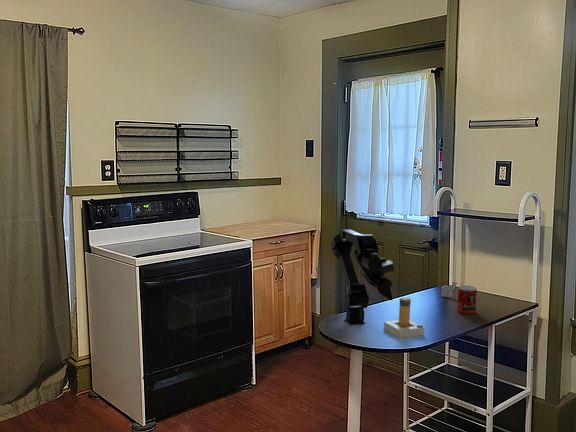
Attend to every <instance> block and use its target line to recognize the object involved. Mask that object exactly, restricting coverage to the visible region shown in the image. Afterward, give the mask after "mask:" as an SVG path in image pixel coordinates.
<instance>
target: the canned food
mask: <svg viewBox="0 0 576 432" xmlns="http://www.w3.org/2000/svg"><path fill="white" fill-rule="evenodd" d="M477 290H478V289H477V287H475V286H472V285H466V284H465V285H464V284H463V285H459V286H458V290H457V305H456V310H457V313H459V314H461V315H474V314H475V313H476V307H477V306H476V305H477V303H476V302H477V294H478V293H477V292H478V291H477Z"/></svg>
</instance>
